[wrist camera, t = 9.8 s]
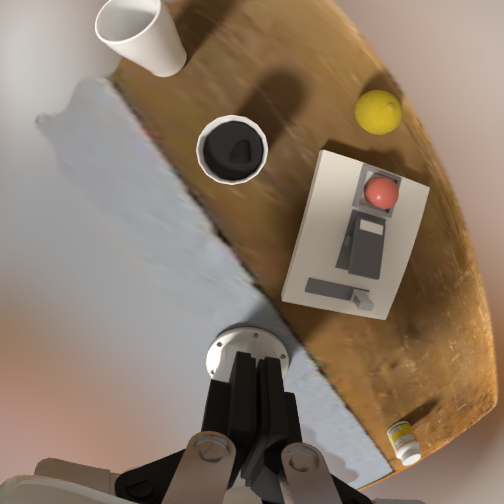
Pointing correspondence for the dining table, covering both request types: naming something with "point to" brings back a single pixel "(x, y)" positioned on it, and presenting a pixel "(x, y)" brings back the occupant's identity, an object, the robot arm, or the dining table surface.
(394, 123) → the lemon
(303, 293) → the switch panel
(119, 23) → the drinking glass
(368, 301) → the slide paddle
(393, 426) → the supplement bottle
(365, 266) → the rocker switch
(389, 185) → the push button
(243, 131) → the white cup
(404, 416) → the dining table surface
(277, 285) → the dining table surface
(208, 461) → the robot arm
